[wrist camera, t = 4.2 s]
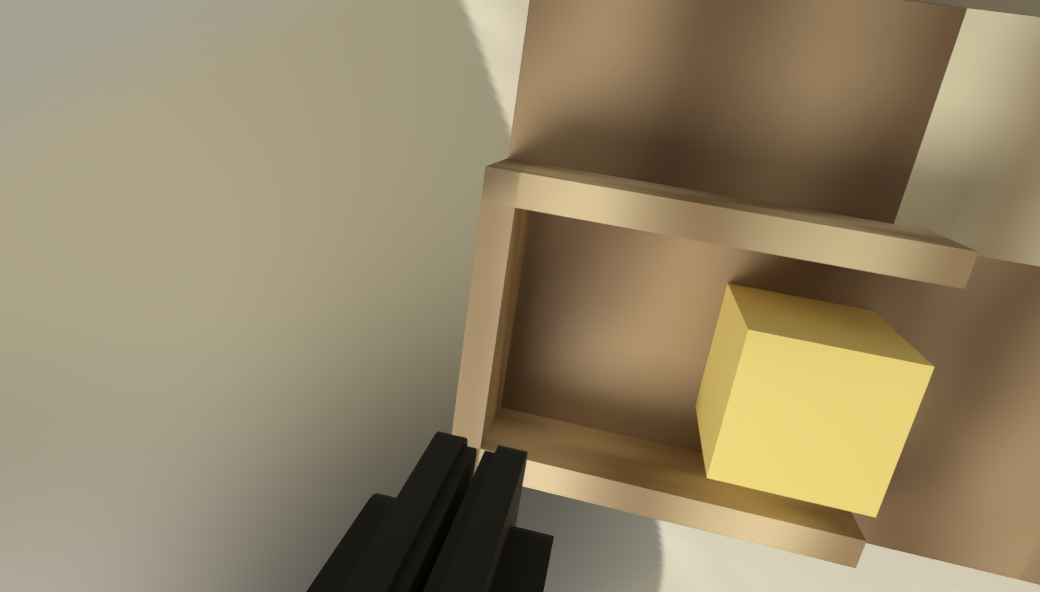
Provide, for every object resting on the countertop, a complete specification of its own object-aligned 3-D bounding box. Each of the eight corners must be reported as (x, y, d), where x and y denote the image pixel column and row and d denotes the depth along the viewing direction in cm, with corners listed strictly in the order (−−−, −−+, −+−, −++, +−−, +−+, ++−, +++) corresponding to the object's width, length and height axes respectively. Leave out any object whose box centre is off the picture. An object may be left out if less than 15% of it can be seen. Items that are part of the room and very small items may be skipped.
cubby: (929, 230, 19) (978, 251, 16) (829, 508, 22) (855, 568, 19) (508, 158, 20) (485, 166, 18) (471, 424, 24) (447, 467, 21)
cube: (873, 310, 20) (934, 366, 15) (830, 434, 21) (875, 517, 17) (727, 283, 20) (748, 329, 16) (695, 405, 22) (706, 478, 17)
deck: (1647, 104, 16) (1749, 103, 15) (1293, 618, 21) (1342, 657, 20) (544, -34, 20) (535, -45, 19) (479, 427, 25) (468, 447, 24)
